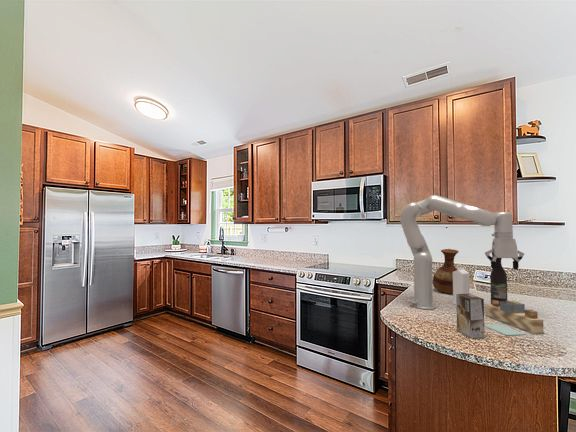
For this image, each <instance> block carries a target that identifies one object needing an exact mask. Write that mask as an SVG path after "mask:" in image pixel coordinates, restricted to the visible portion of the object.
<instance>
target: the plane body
mask: <svg viewBox="0 0 576 432" xmlns="http://www.w3.org/2000/svg"><path fill="white" fill-rule="evenodd" d="M485 310H486V312H485V317H487V318H491V319H492V320H495V321H498V322H500V323H503V324H505V325H508V326H511V327H513V328H515V329H518V330H520V331H524V332H527V333H528V334H531V335H544V334H545V331H544V319H542V318H538V317H539V316H538V315H539V314H538V311H536V310H533V309H525V313H515V314H511V313H508V312H505V311H502V310H500V306H499V301H497V300H492V304H491V303H486V304H485Z"/></svg>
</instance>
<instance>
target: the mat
mask: <svg viewBox="0 0 576 432" xmlns="http://www.w3.org/2000/svg"><path fill="white" fill-rule="evenodd" d="M484 328H487V329H490V330H492V331H493V332H494V331H495V332H497V333H499V334H502V335H504V336H506V337H510V336H511V337H512V336H513V337H514V336H525V335H526V333H524V332H521V331H519V330H516V329H514V328H511V327H509V326H506V325H504V324H501V323H494V324H493V323H492V324H484Z"/></svg>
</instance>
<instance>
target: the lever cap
mask: <svg viewBox="0 0 576 432" xmlns="http://www.w3.org/2000/svg"><path fill="white" fill-rule="evenodd" d="M500 310H502V311H505V312H508V313H511V314H515V313H524V314H525V310H526V306H525V303H521V302H519V301H514V300H508V301H500Z"/></svg>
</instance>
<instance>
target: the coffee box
mask: <svg viewBox="0 0 576 432" xmlns="http://www.w3.org/2000/svg"><path fill="white" fill-rule="evenodd" d="M484 299H485V298H482V297H479V296H476V295H472V294H456V305H455V306H456V331H457V332H459V333H462V334H463V335H465V336H466V337H469V338H471V339H478V338H479V339H485V330H486V329H485V326H484V325H485V302H484V301H485V300H484Z"/></svg>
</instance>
